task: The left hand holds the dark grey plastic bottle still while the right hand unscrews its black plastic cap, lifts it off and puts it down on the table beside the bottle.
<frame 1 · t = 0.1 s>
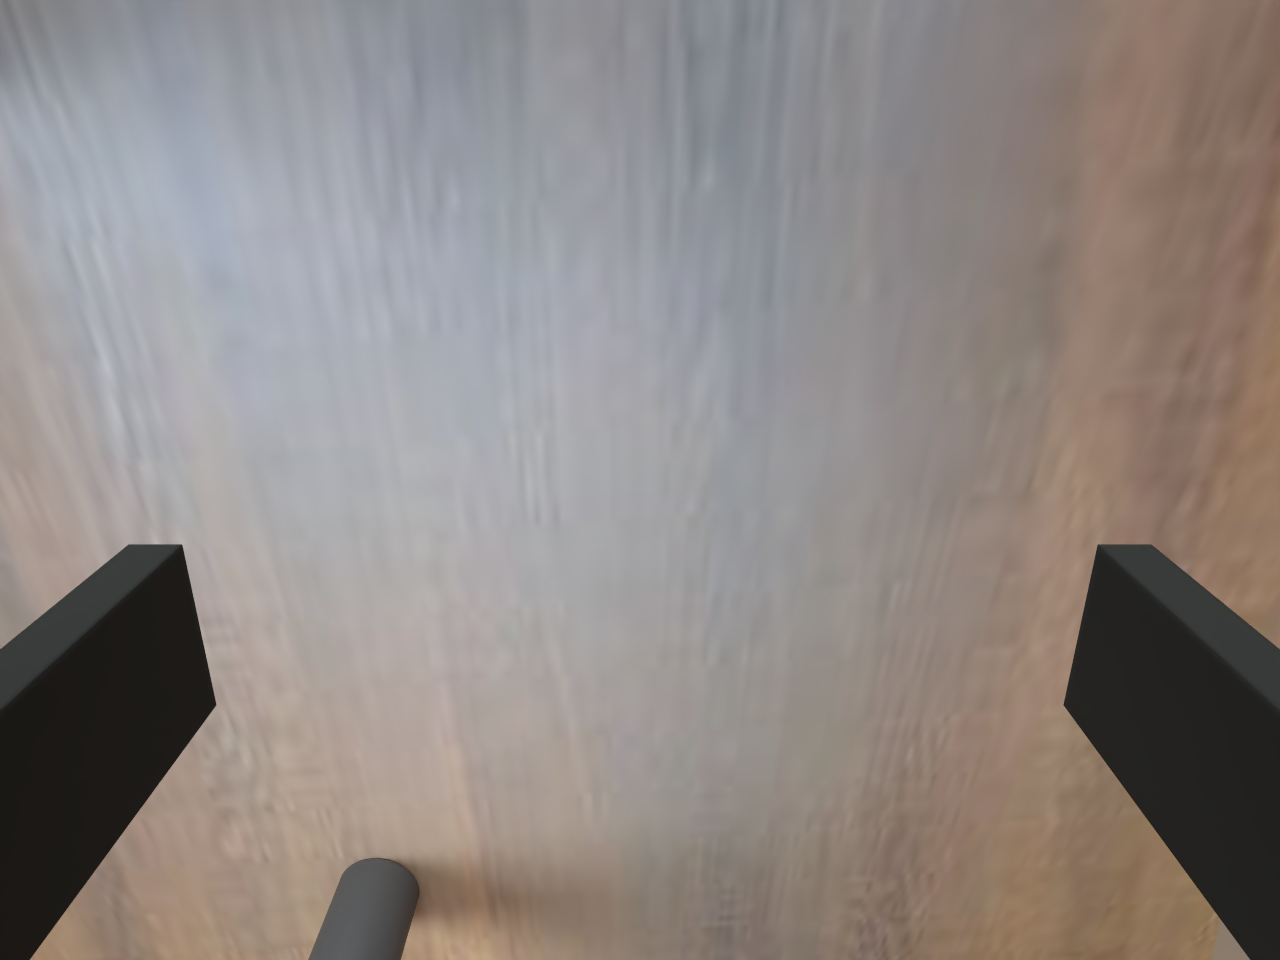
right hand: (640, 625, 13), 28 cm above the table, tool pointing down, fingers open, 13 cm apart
bottle: (379, 888, 52), on the table
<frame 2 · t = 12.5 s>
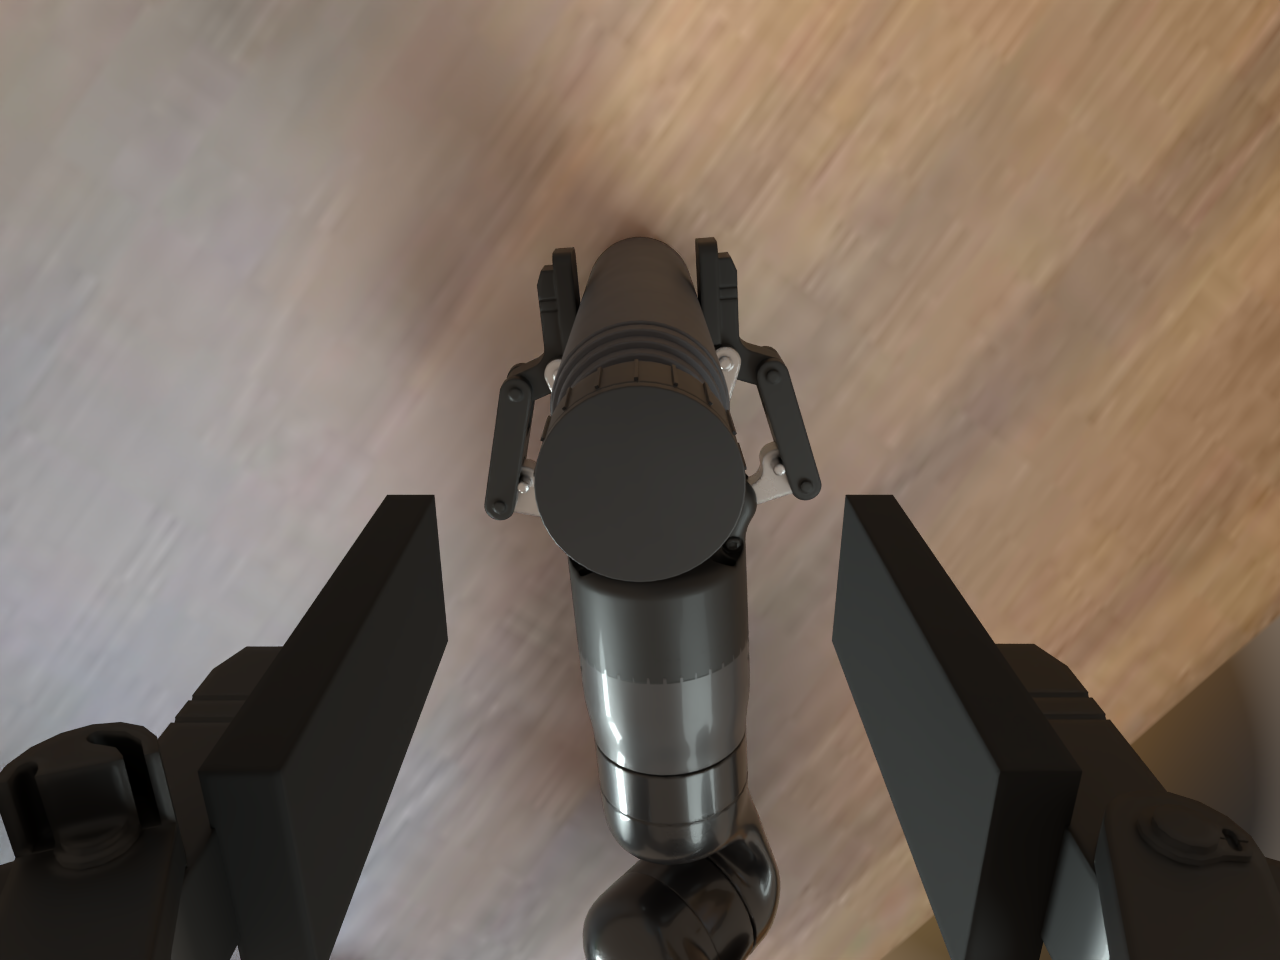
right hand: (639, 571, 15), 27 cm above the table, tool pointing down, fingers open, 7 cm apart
cap: (640, 482, 18), point 23 cm above the table, screwed on, not yet turned
bottle: (639, 290, 40), on the table, touching left hand
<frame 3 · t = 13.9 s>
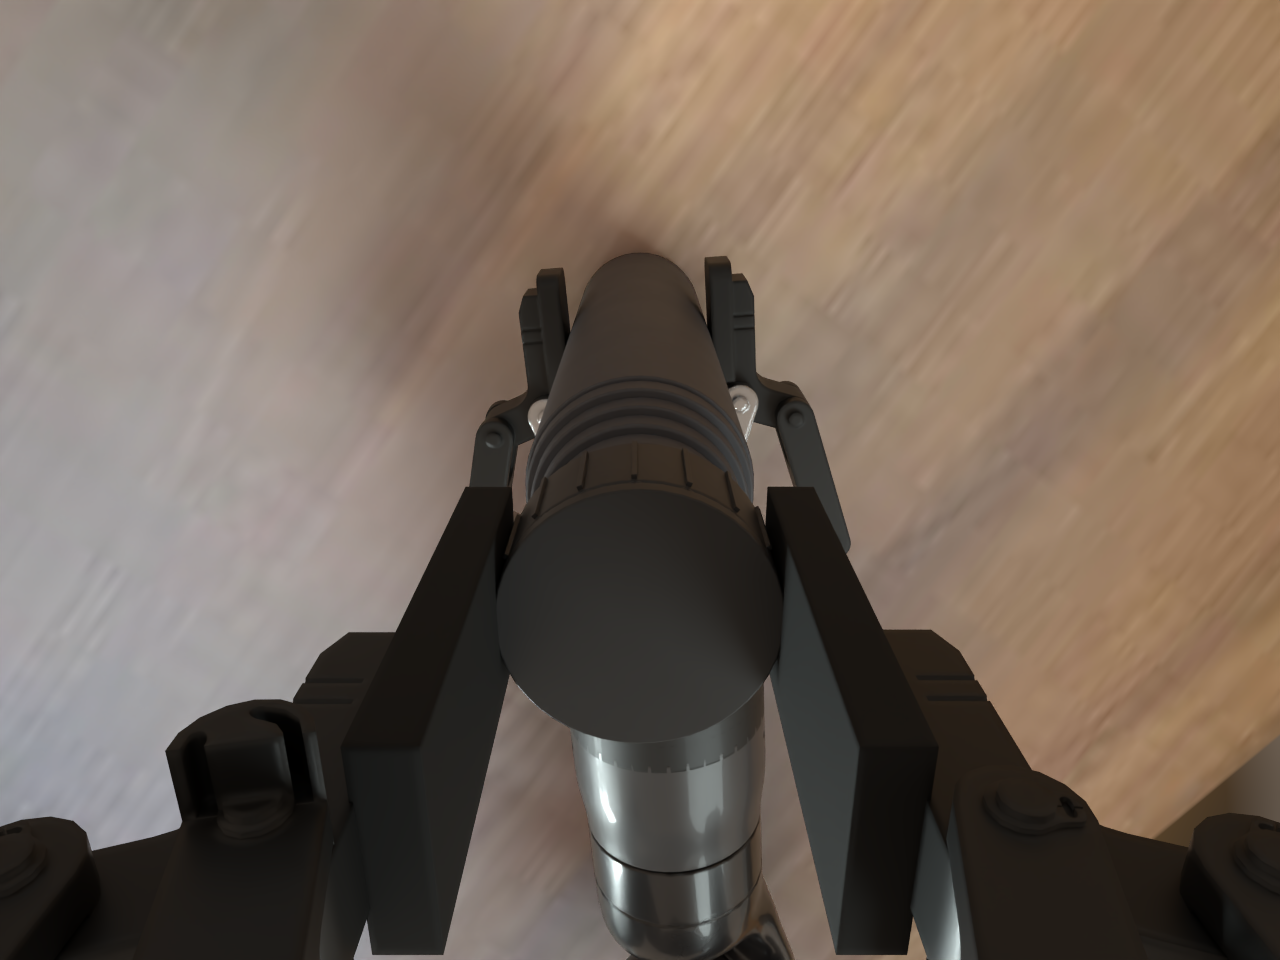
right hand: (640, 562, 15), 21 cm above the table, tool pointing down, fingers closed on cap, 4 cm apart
cap: (639, 614, 13), point 23 cm above the table, screwed on, not yet turned, touching right hand
bottle: (639, 313, 35), on the table, touching left hand
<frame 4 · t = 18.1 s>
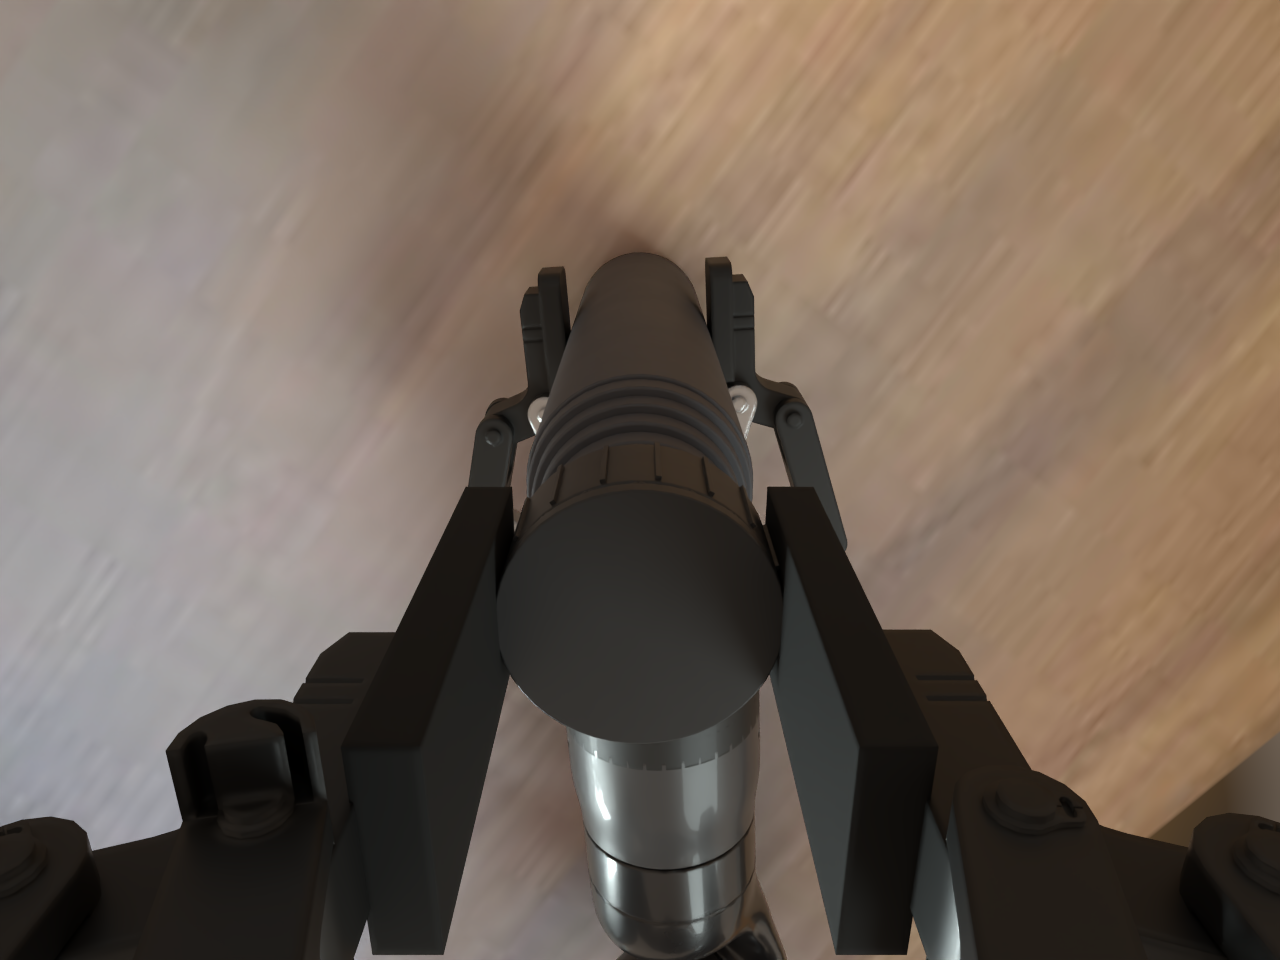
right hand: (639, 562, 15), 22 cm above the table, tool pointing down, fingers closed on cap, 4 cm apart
cap: (639, 614, 13), point 23 cm above the table, turned 140° so far, risen 0.1 cm, still on its thread, touching right hand
bottle: (639, 312, 35), on the table, touching left hand
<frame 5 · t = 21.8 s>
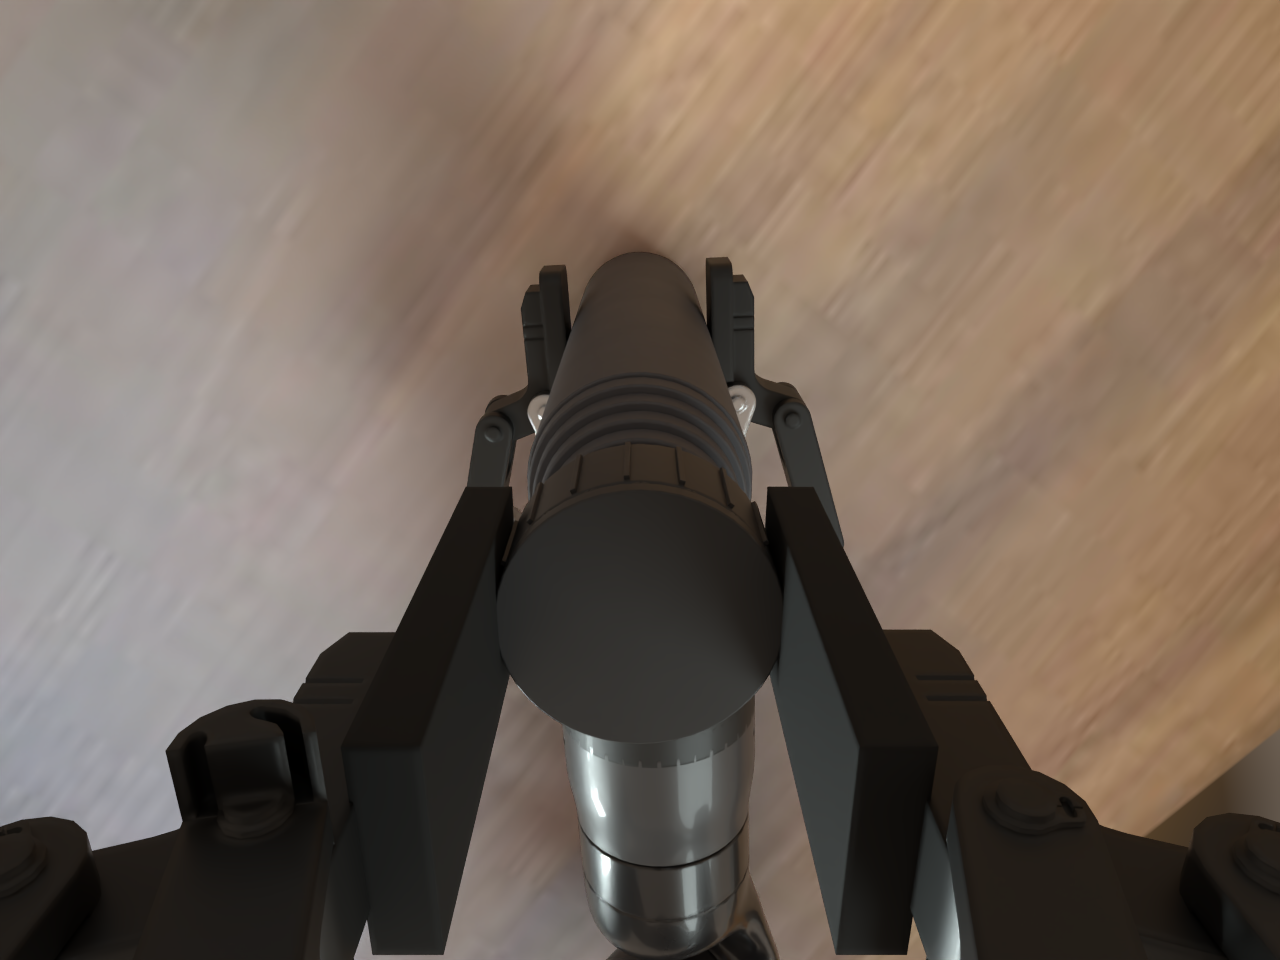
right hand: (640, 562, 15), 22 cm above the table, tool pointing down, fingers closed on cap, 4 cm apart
cap: (639, 614, 13), point 23 cm above the table, turned 279° so far, risen 0.3 cm, still on its thread, touching right hand
bottle: (639, 311, 35), on the table, touching left hand
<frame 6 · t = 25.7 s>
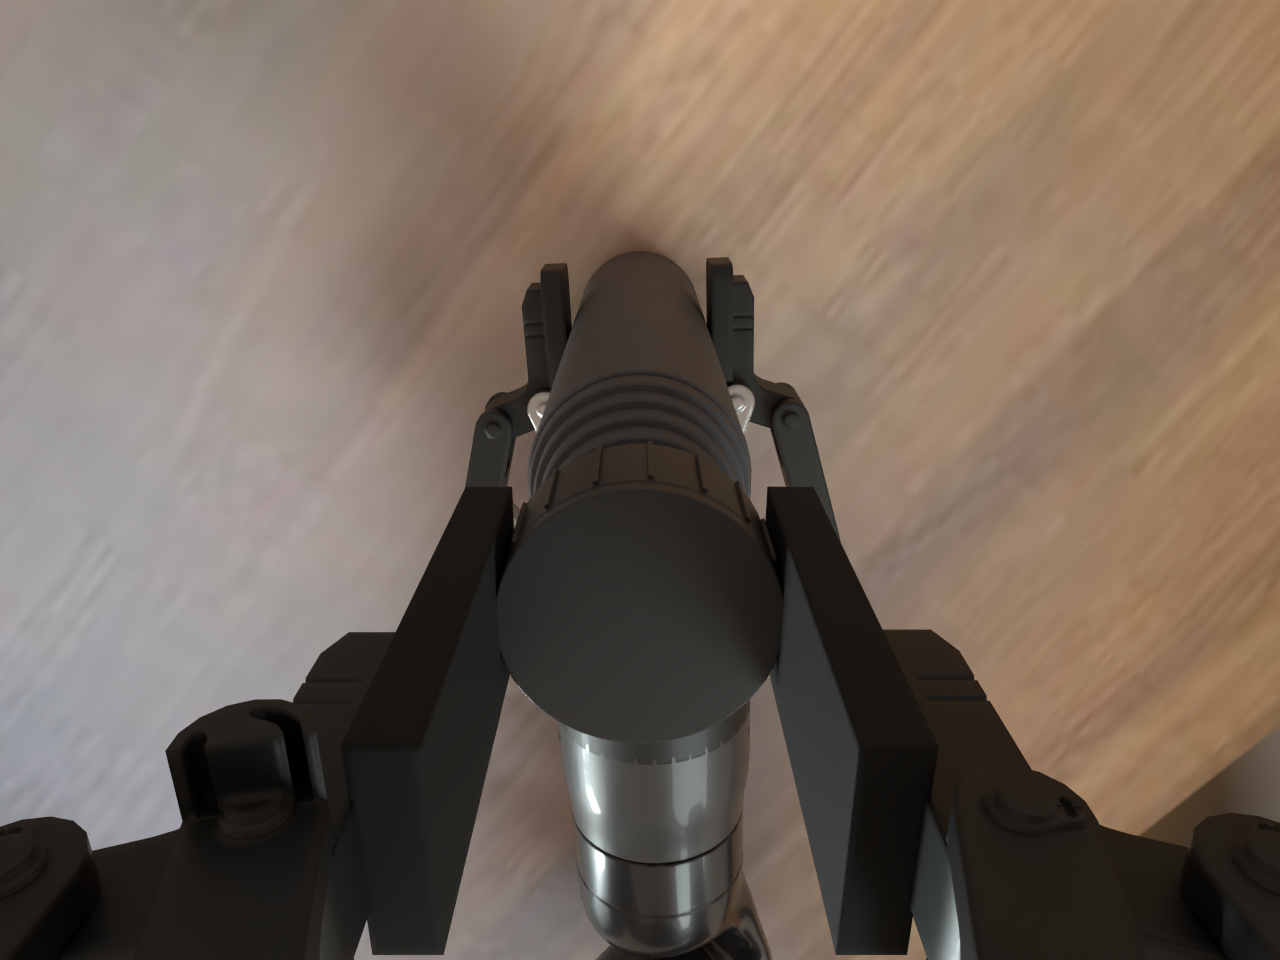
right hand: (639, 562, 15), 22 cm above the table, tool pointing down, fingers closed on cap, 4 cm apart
cap: (639, 614, 13), point 24 cm above the table, turned 419° so far, risen 0.4 cm, still on its thread, touching right hand
bottle: (639, 311, 35), on the table, touching left hand
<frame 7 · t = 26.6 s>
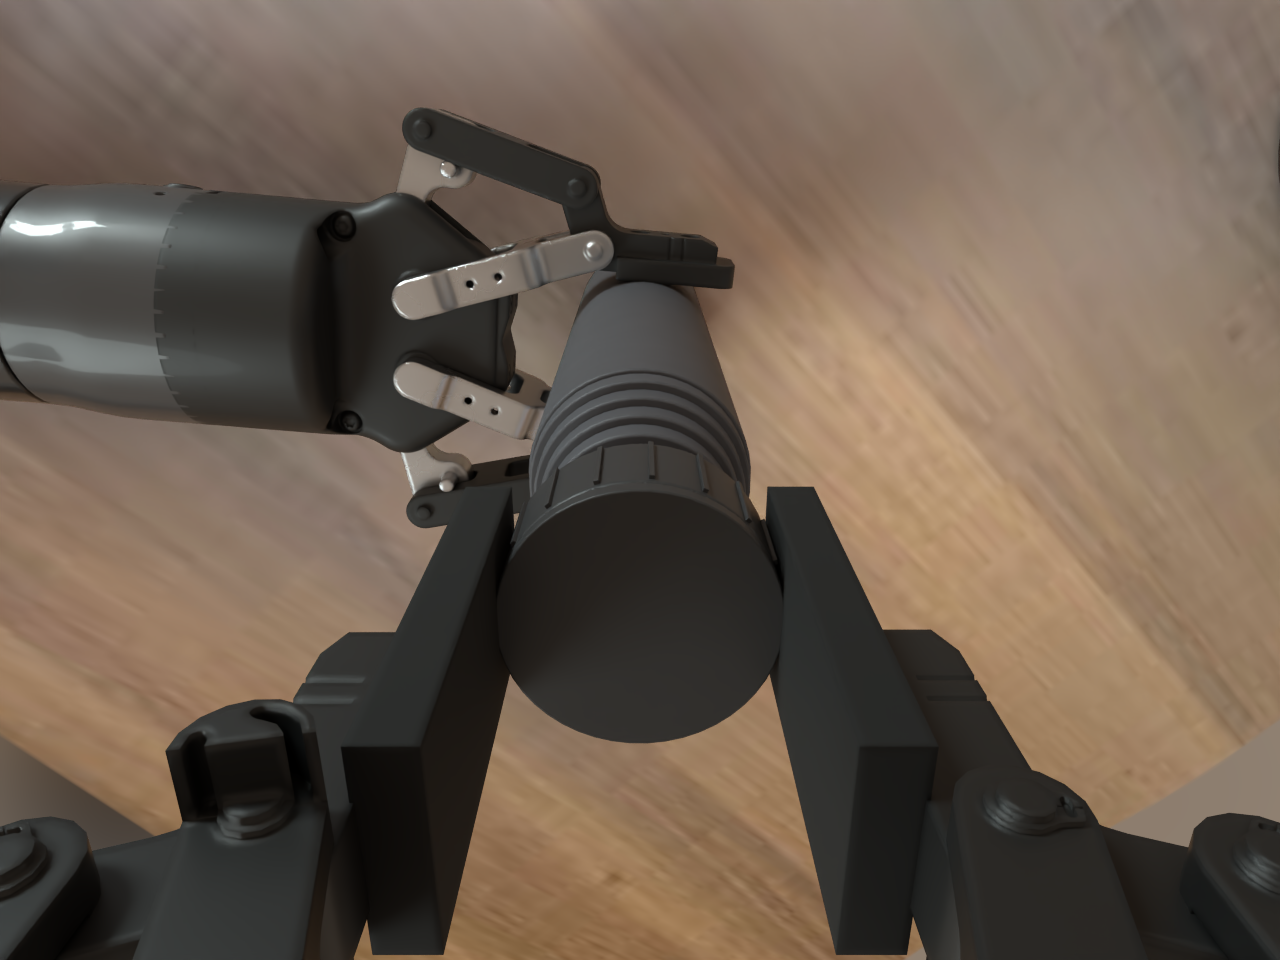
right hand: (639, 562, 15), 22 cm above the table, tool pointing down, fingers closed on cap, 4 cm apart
left hand: (718, 352, 29), fingers closed on bottle, 4 cm apart
cap: (639, 614, 13), point 24 cm above the table, turned 516° so far, risen 0.6 cm, still on its thread, touching right hand
bottle: (639, 310, 35), on the table, touching left hand
when the right hand's fingers open (1 cm above the table, at t = 33.8 s): cap stays where it is, point 2 cm above the table.
when the left hand's fingers open (6 cm above the table, at t = 35.0 s): bottle stays where it is, on the table.
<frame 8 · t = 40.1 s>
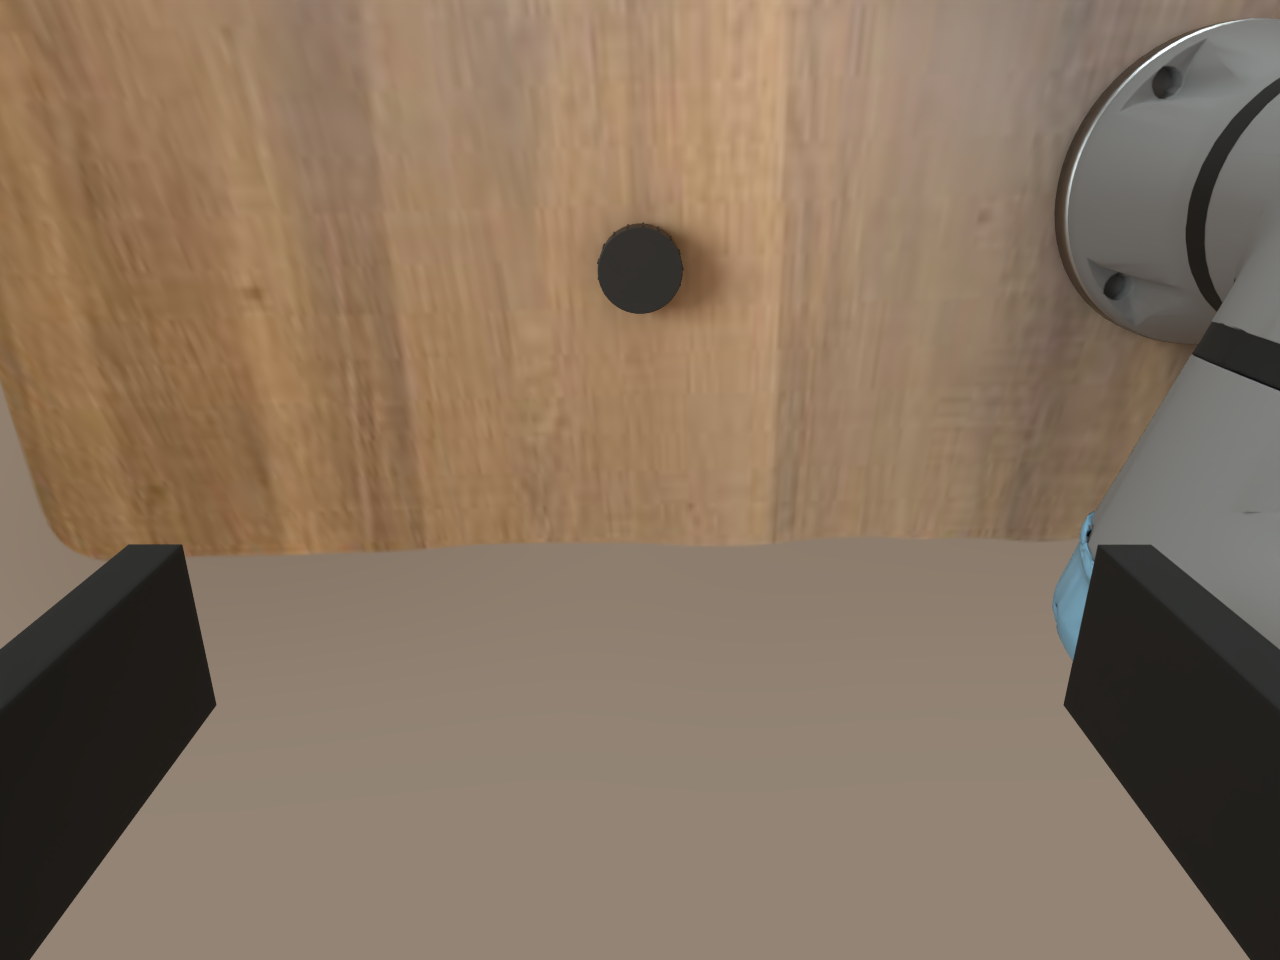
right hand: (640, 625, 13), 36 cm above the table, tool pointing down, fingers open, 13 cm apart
cap: (640, 270, 45), point 2 cm above the table, off its thread
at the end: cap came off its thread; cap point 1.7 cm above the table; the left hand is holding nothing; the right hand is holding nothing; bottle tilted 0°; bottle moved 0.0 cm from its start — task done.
